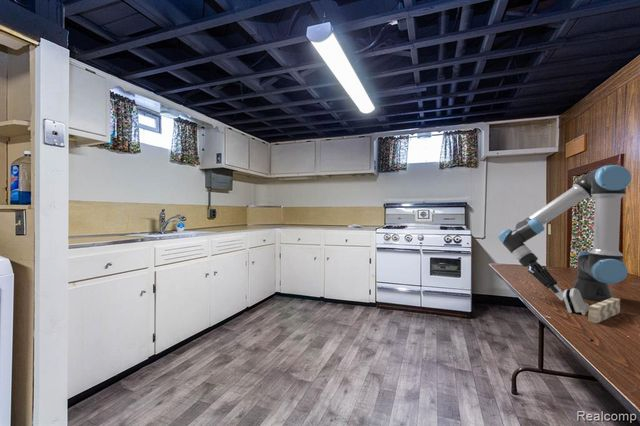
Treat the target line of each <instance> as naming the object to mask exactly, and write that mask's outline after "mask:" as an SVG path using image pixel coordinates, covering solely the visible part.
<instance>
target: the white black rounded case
mask: <svg viewBox="0 0 640 426" xmlns="http://www.w3.org/2000/svg"><path fill="white" fill-rule="evenodd" d="M563 298H564V300H563V301H564V304H565V307H566V309H567V313H569V314H572V313H573V312H575V313H581V315H582V316H584V317H585V315H586V314H587V312H588V311H589V306H590V305H589V304H588V302H585V301H584V298H582V296H581V294H580V291H579V290H578V289H575V288H573V287H572V288H567V289H565V290H563Z"/></svg>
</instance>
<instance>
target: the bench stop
mask: <svg viewBox="0 0 640 426" xmlns="http://www.w3.org/2000/svg"><path fill="white" fill-rule="evenodd" d="M620 311H621V298H617V297H613V296H612V298H609V299H607V300H604V301H598V302H597V303H594V304H591V305H589V309H588V311H587V312H588V315H587V317H588V318H587V322H589V323H592V324H599V323H601V322H603V321H606V320H607V319H610V318H611V317H613V316H616V315H619V313H620Z"/></svg>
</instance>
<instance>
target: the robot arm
mask: <svg viewBox="0 0 640 426" xmlns="http://www.w3.org/2000/svg"><path fill="white" fill-rule="evenodd" d="M631 182H632V174H631V172H630V170H629V169H627V168H626V167H624V166H622V165H618V164H609V165H608V164H607V165H603V166H601V167H598V168H595V169H593V170H590V171H589V172H588V173H586V174H585V175H584V176H583V177H581V178H580V179H579V180H578V181H576V182H575V183H572V187H570V189H568V190H567V191H565V192H564V193H561V195H559V196H558V197H555V198H554V199H553V200H552V201H550V202H548V203H547V204H546V205H544V206H542V207H541V208H539V209H538V210H537V211H535V212H534V213H532V214H530V215H529V216H528V217H526V218H524V219H523V220H522V221H519V222H517V223H516V225H515V226H514V228H515V229H513V230H512V229H510V228H506V229H505V230H503V231H502V232H500V233H499V235H498V239H499V241H500V242H501V243H502V244H503V246H504V247H505V248H506V249H507V250H508V251H509V252H510V253H511V255H513V258H515V259H516V260H518V262H519V263H520V265H521V266H522V267H523V268H526V267H527V268H528V271H527V272H528V273H529V274H530V275H532V276H533V278H535V279H536V280H537V281H538V282H539V283H540V284H542V285H543V286H544V287H545V288H546V289H547V290H549V289H550V290H551V291H552V292H553V294H554V295H555V296H556V298H557V297H558V299H559V300H560V301H564V298H563V292H564V290H562V289H561V288H560V287H559V286H558V284H559V283H558V282H557V280H555V279H556V278H554V277H553V275H552V274H551V273H550V272H549V270H548V269H547V266H545V265H542V264H540V263H539V262H538V259H539V258H538V256H537V255H536V254H535V253H534V252H532V250H531V249H530V248H529V247H528V246H527V244H525V243H526V242H527V241H529V240H531V239H532V238H534V237H535V236H537V235H540V234H541V233H542V232H544V231H545V227H544V225H545V224H547V223H549V222H550V221H552V220H553V219H555V218H556V217H558V216H559V215H561V214H563V213H564V212H566V211H568V210H570V209H571V208H572V207H574V206H575V205H577V204H578V203H580V202H581V201H583V200H584V199H590V198H592V197H593V198H594V199H595V200H594V217H593V218H594V219H593V220H594V222H593V245H592V246H593V247H592V249H591V250H589V251H585V250H583V251H578V253H577V254H578V255H577V267H576V269H577V270H576V272H577V273H576V275H577V277H576V281H575V283H574V285H573V287H572V288H575V289H578V290H579V291H580V294H581V296H582V298H583V299H586V300H592V301H597V302H601V301H604V300H607V299H609V298H612V297H613V294H612V291H611V289H610V286H609V285H613V284H614V285H615V284H618V283H621V282H622V281H624V280H625V279H626V277H627V276H628V267H627V266H626V265H625V263H624V254H623V253H622V252H620V250H619V248H620V229H621V228H620V226H621V225H620V224H621V204H622V202H621V201H622V198H623V197H624V196H626V194H627V187H628V186H629V185H630V184H631Z"/></svg>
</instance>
